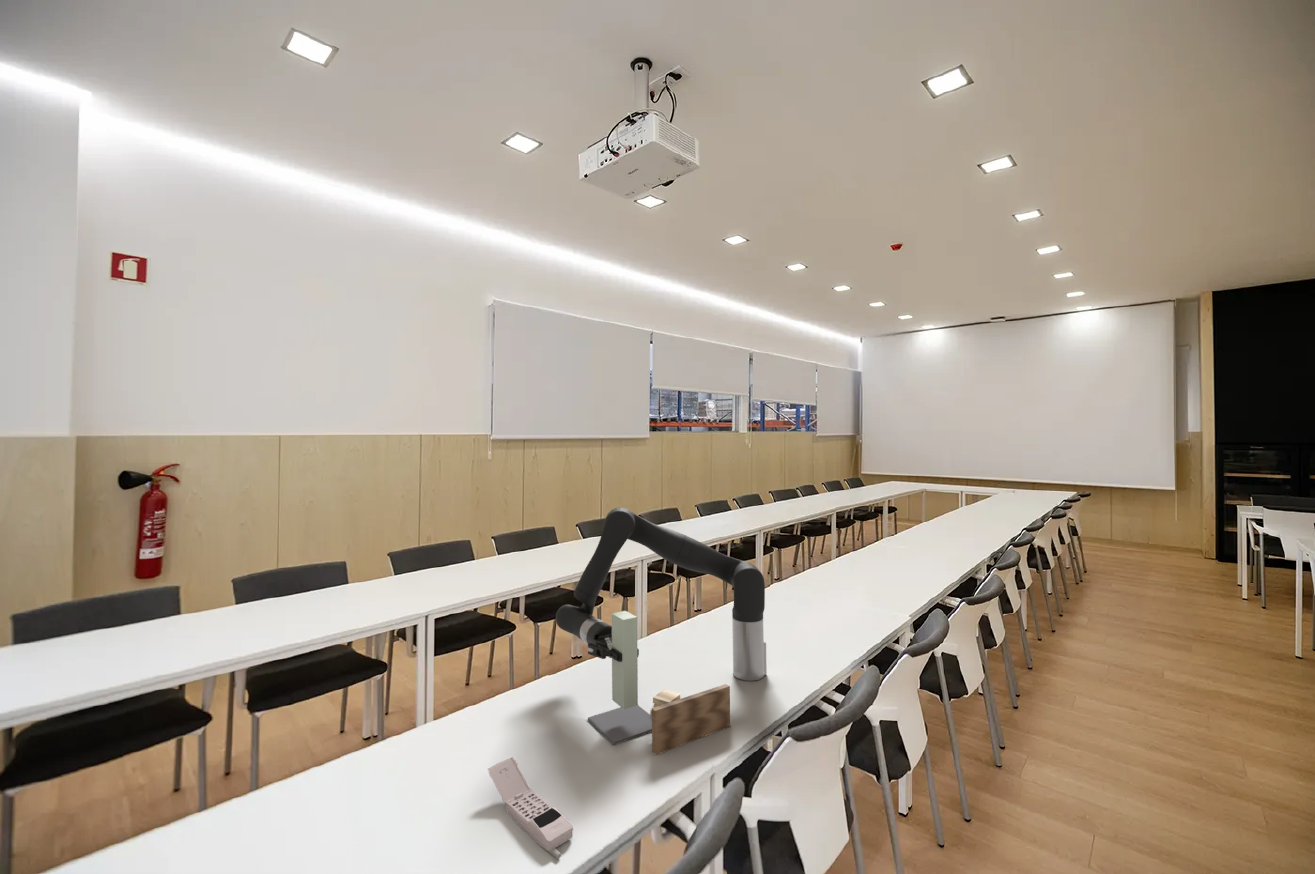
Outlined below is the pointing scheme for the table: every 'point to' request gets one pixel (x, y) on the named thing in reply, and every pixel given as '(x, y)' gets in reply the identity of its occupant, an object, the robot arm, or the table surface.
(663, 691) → the offcut stack
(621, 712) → the charcoal mat
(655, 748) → the walnut rack
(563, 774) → the table surface
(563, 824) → the mobile phone
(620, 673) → the sage green pillar
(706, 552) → the robot arm
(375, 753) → the table surface
